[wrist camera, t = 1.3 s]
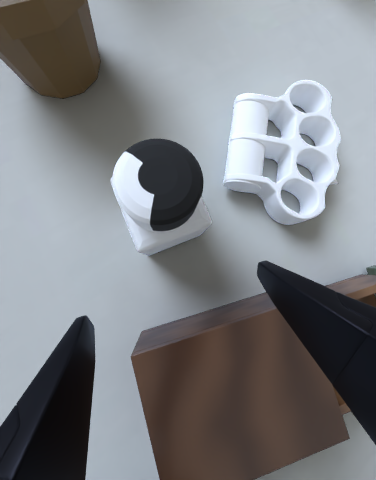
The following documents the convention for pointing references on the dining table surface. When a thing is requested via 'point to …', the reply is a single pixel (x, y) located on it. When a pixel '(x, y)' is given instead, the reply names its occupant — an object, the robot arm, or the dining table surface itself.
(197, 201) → the medicine bottle
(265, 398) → the cabinet
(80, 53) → the flowerpot
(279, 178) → the white brass knuckles
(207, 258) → the dining table surface
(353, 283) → the drawer
